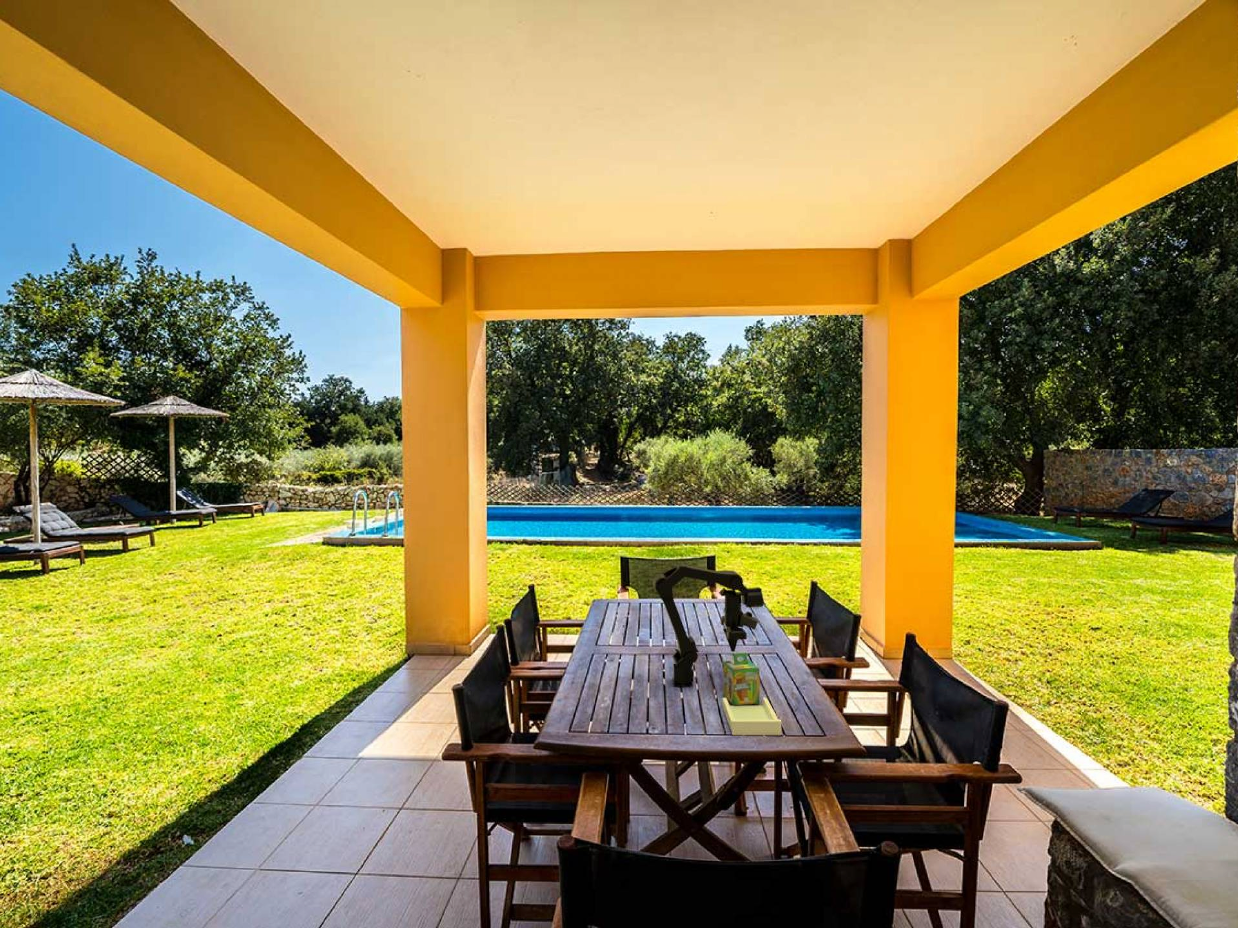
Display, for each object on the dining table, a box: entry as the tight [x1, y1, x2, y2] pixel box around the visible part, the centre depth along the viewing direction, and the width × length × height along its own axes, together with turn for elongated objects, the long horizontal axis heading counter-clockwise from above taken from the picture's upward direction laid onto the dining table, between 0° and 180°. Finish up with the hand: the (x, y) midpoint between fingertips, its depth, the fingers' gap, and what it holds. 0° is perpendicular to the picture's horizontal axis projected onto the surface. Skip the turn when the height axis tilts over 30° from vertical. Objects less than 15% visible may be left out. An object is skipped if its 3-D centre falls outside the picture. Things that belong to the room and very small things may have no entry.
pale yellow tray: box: [722, 697, 782, 736], centre depth 179 cm, size 14×18×4 cm
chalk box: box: [723, 652, 760, 706], centre depth 193 cm, size 9×9×15 cm
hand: (732, 651), depth 208 cm, fingers closed
